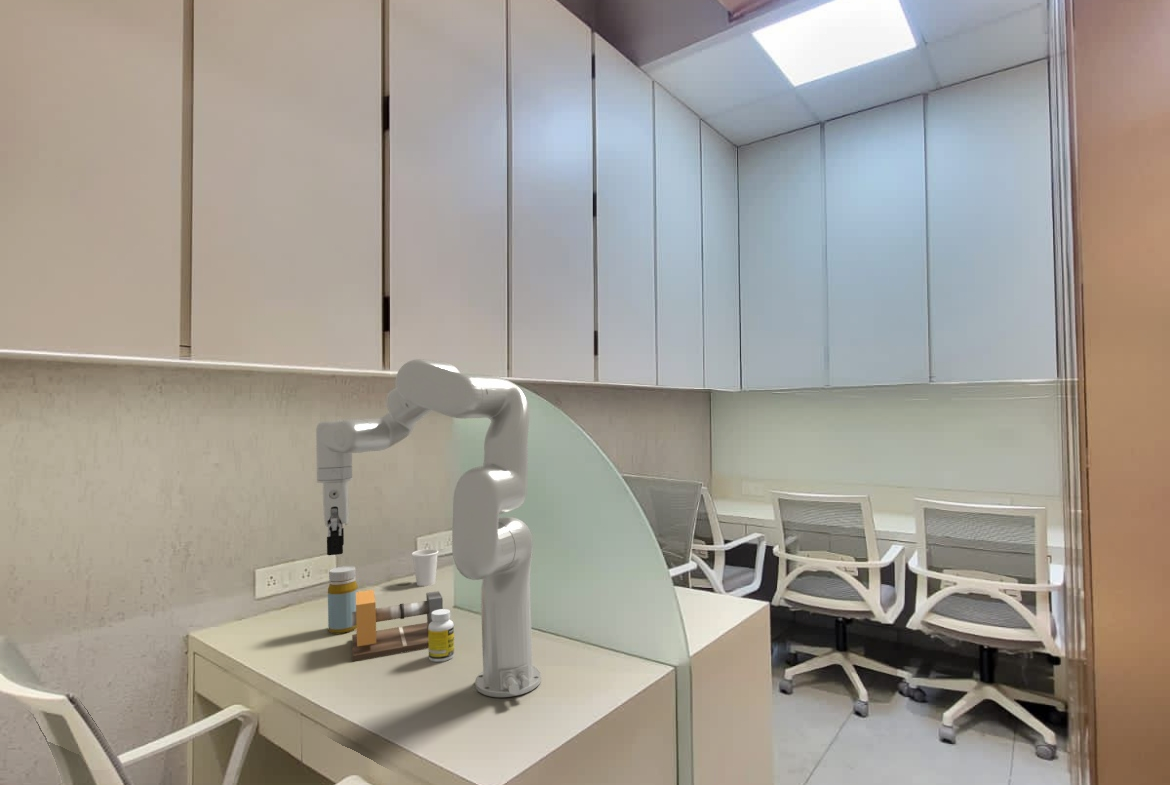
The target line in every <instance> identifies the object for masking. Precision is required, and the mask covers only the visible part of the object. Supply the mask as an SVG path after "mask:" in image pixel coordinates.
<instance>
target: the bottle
mask: <svg viewBox="0 0 1170 785" xmlns="http://www.w3.org/2000/svg"><path fill="white" fill-rule="evenodd" d="M356 571H357V570H356V566H353V565H352V566H351V565H345V566H339V567H334V568H332V569H330V570H329V572H328V575H329V576H328V579H329V585H328V587H327V611H328V612H327V616H328V617H327V619H328V623H327V624H328V631H329V632H330V633H331V632H332V633H331V634H334V633H342V634H345V633H344V632H347V633H350V632H349V631H351V632H353V631H355V630H357V625H355V626H352V612H356V592H359V589H358V584H357V581H356V578H357V577H356ZM354 629H355V630H354ZM352 630H353V631H352Z"/></svg>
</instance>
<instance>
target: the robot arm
mask: <svg viewBox="0 0 1170 785" xmlns="http://www.w3.org/2000/svg"><path fill="white" fill-rule="evenodd" d="M394 383H395V388H393V389H392V390H390V391H389V392H388V394H387V396H386V408H387V410H388V412H387V413H386V414H385V415H382V416H381V417H379V418H359V419H357V418H356V419H355V418H354V419H353V418H352V419H344V420H330V421H329V420H327V421H326V420H325V421H321V422H319V423H318V424H317V425H316V428H315V432H316V433H315V438H316V439H315V440H316V442H315V443H316V446H315V447H316V448H315V449H316V483H318V484H322V505H323V506H322V507H323V519H324V521H323V522H324V527H327V536H326V555H327V556H337V555H342V554H343V553H344V547H343V546H344V544H345V543H344V542H345V541H344V540H345V538H344V536H345V534H344V527H343V524H344V525H345V526H347V525H349V518H350V517H349V516H350V515H349V513H350V511H349V504H350V501H349V483H348V482H350V481H353V454H361V453H365V452H366V453H368V452H381V451H384V450H387V449H389V448H391V447H393V446H394V445H396V444H398V443H399V442H401V441H403V440H404V439H406V438H407V437H408V436H409V435H410V434H412V432H413V430H414V428H415V427H416V424H417V422H418V421H420V420H422V419H423V418H425V417H426V416H427V415H429V414H431V413H432V412H435V413H438V414H440V415H443V416H447V417H450V418H454V419H465V420H466V419H484V418H485V419H489V420H490V424H489V425H488V429H487V431H486V434H485V437H484V443H483V444H484V445H483V448H484V449H483V450H484V452H483V463H482V465H480V466H475V467H472V468H470V469H468V470H467V471H465V472H463V474H462V475H461V476H460V477H459V479H458V481H457V482H456V485H455V488H454V490H453V491H454V492H453V497H452V500H453V502H452V531H451V534H452V535H451V536H452V537H451V550H452V560H453V563H454V565H455V567H456V569H457V570H458V572H459V573H460V574H461V575H462V576H463V577H464V578H465V579H468V580H472V581H480V580H482V581H481V588H480V589H481V590H480V608H481V609H480V611H481V612H480V613H481V614H480V616H481V617H480V618H481V640H482V641H481V644H482V645H481V647H482V669H483V670H482V671H481V672H480V673H479V674H478V675H477V676H476V677H475V682H474V683H475V684H474V686H475V689H476V691H477V692H479V693H480V694H482V695H484V696H488V697H493V698H511V697H512V698H513V697H516V696H517V697H518V696H521V695H524V694H526V693H529V692H531V691H533V690H535V689H536V688H537V687H539V685H540V683H541V682H542V674H541V670H539V669H538V668H537V667H535V666H533V641H532V638H533V637H532V616H531V615H532V614H531V610H532V608H531V567H532V558H533V557H532V556H533V551H534V548H533V547H534V545H533V544H534V543H533V541H534V540H533V535H532V533H531V530H530V528H529V526H528V525H527V524H526V523H525V522H524V521H522V520H521V519H519V518H517V517H512V516H503V517H500V515H503V514H505V513H508V512H511V511H513V510H516V509H518V508H520V507H521V506H522V505H523V504H524V503H525V500H526V497H527V492H528V469H529V468H528V464H529V463H528V461H529V460H528V459H529V453H528V452H529V451H528V450H529V448H528V447H529V445H528V443H529V442H528V440H529V439H528V438H529V428H530V427H529V426H530V408H529V402H528V399H527V397H526V395H525V394H524V391H522V389H521V388H520V387H519V386H518V385H517V384H516V383H514V382H512V381H510V380H508V379H505V378H503V377H500V376H493V375H485V374H468V373H461V371H460V370H459V368H457V367H456V366H455V365H453V364H451V363H449V362H445V361H441V360H434V359H433V360H431V359H421V358H419V359H418V358H415V359H412V360H409V361H407V362H405V363H404V364H403V365H401V367H400V368H399V369H398V371H397V373H396V377H395V382H394Z"/></svg>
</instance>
